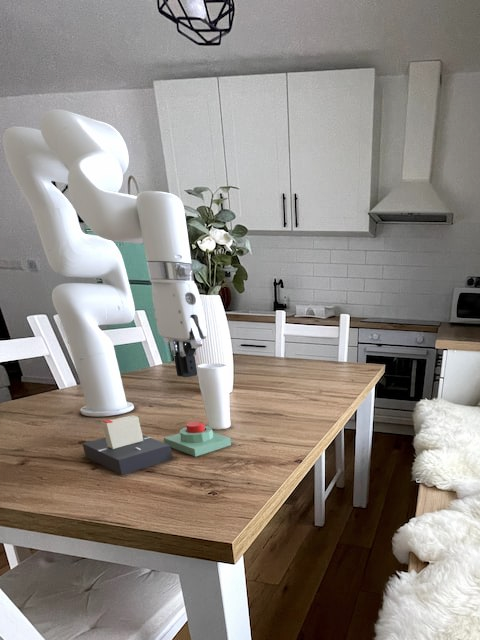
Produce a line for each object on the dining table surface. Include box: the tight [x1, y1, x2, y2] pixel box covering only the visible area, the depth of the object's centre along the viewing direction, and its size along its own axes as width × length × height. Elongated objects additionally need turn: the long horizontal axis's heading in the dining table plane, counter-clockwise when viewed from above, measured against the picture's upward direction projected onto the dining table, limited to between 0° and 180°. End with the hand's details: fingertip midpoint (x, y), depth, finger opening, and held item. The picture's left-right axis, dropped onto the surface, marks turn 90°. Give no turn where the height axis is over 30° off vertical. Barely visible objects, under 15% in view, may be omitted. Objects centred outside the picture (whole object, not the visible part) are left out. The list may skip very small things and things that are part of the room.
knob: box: [101, 414, 143, 449], centre depth 77 cm, size 6×2×5 cm, turn 146°
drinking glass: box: [196, 363, 232, 431], centre depth 95 cm, size 7×7×15 cm
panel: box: [81, 434, 173, 476], centre depth 78 cm, size 14×10×3 cm
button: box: [185, 421, 205, 433], centre depth 85 cm, size 4×4×2 cm
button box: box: [163, 425, 232, 458], centre depth 86 cm, size 11×9×4 cm
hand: (187, 375), depth 80 cm, fingers closed
